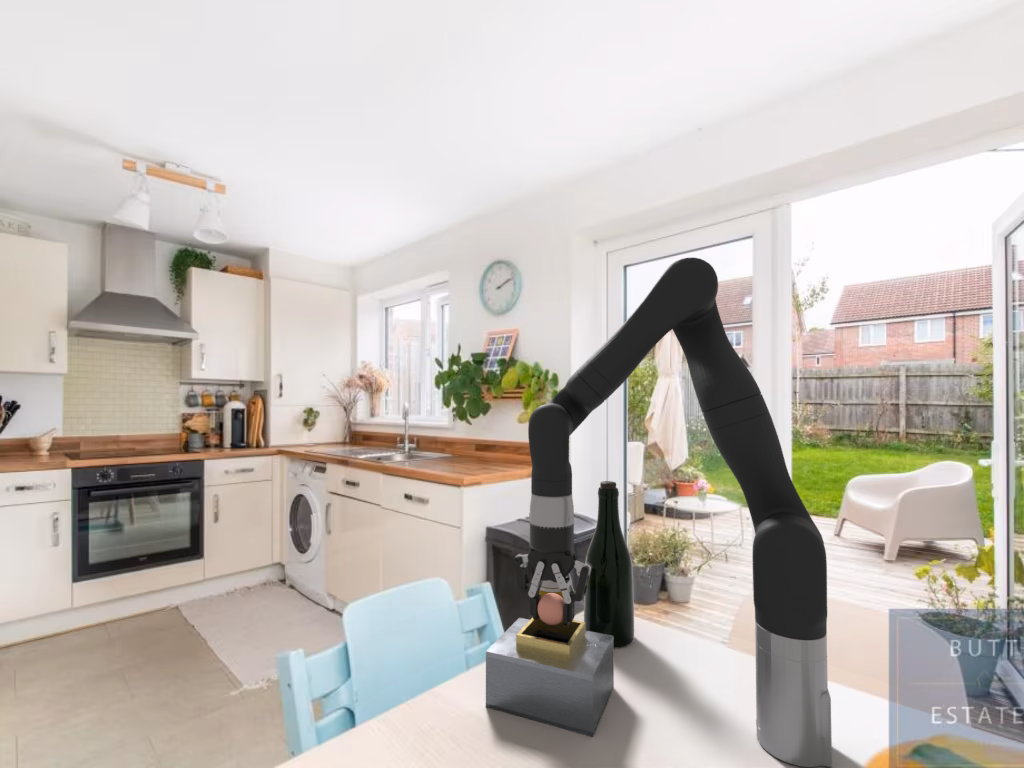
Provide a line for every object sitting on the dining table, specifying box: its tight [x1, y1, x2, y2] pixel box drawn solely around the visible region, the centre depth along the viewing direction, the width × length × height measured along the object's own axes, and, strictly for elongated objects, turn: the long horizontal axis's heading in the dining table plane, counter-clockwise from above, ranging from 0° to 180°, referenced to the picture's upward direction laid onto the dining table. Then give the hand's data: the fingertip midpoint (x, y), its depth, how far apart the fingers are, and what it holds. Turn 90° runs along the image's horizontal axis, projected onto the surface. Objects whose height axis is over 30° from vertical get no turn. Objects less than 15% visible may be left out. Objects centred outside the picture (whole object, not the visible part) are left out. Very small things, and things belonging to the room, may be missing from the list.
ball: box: [537, 593, 565, 625], centre depth 86 cm, size 5×5×5 cm
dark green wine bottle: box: [583, 480, 635, 649], centre depth 107 cm, size 10×10×33 cm
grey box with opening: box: [485, 616, 615, 738], centre depth 85 cm, size 18×14×12 cm
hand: (551, 620), depth 86 cm, fingers closed on ball, 5 cm apart
